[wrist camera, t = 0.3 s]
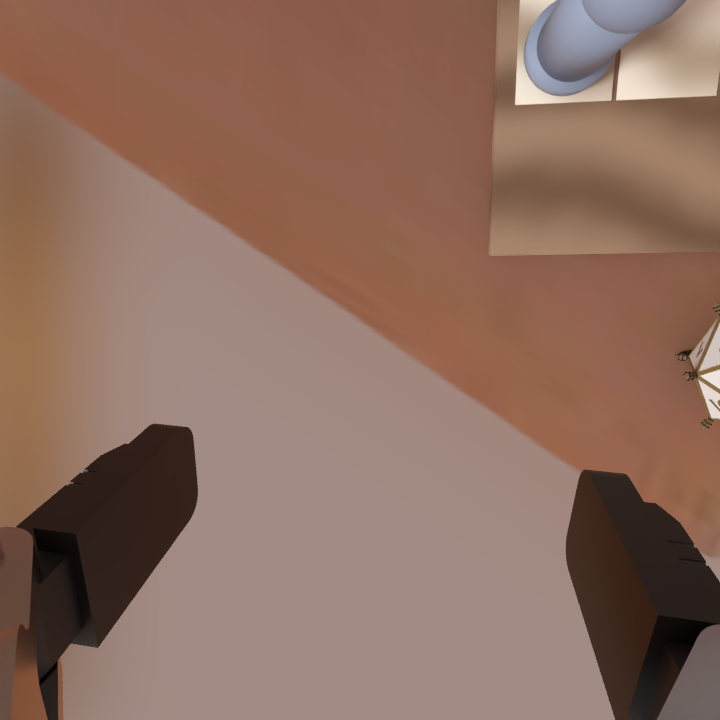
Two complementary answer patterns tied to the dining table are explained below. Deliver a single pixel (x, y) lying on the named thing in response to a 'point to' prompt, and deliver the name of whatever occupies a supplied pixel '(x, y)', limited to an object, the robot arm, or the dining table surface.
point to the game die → (707, 369)
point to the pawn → (586, 39)
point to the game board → (610, 144)
